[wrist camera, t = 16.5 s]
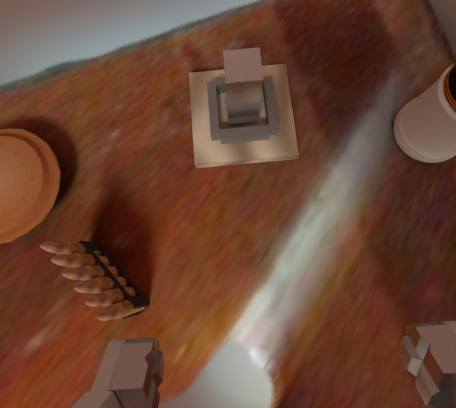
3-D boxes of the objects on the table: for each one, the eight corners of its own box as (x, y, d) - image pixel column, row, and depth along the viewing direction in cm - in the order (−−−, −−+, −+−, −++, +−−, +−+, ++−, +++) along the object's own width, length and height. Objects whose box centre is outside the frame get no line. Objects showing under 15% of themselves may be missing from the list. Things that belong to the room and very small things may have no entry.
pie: (-58, 212, 43) (-97, 204, 38) (10, 122, 45) (-17, 104, 40) (28, 268, 41) (0, 267, 36) (95, 170, 43) (77, 157, 38)
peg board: (284, 70, 46) (288, 53, 42) (296, 158, 42) (301, 149, 39) (190, 79, 46) (186, 63, 42) (196, 168, 43) (192, 158, 39)
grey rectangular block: (255, 97, 43) (259, 46, 33) (258, 124, 42) (264, 80, 32) (226, 100, 43) (222, 50, 33) (228, 127, 42) (225, 83, 32)
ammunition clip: (150, 304, 39) (112, 317, 27) (139, 314, 39) (96, 332, 27) (98, 242, 41) (42, 231, 29) (87, 252, 41) (27, 244, 29)
